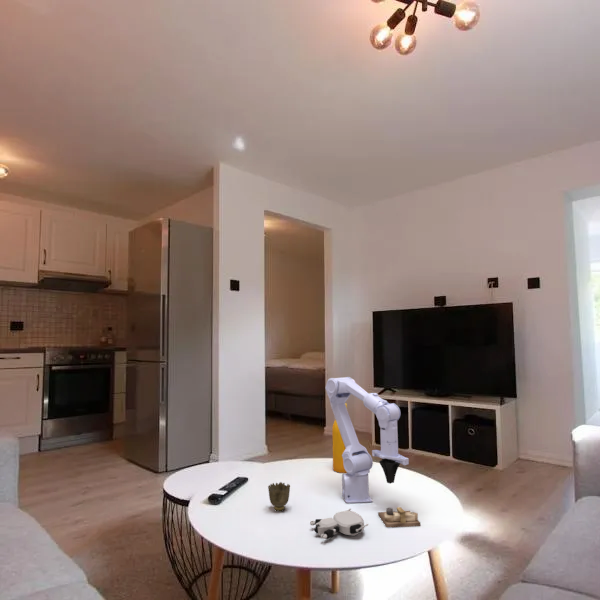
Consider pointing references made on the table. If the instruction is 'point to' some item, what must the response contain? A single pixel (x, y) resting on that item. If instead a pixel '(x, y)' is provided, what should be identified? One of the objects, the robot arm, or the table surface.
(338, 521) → the robot toy
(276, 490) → the cup
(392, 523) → the board
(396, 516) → the link
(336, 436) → the beer bottle
